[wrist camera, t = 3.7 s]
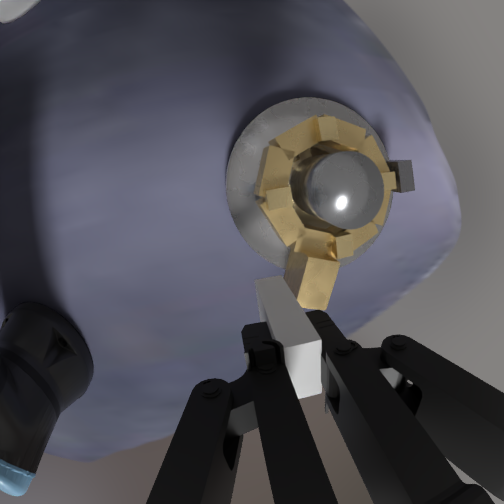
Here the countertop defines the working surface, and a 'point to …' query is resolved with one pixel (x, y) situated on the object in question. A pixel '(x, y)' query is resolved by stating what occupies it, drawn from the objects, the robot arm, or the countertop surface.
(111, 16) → the countertop surface
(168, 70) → the countertop surface
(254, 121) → the flange
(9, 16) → the vase
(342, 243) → the gold crown ring
